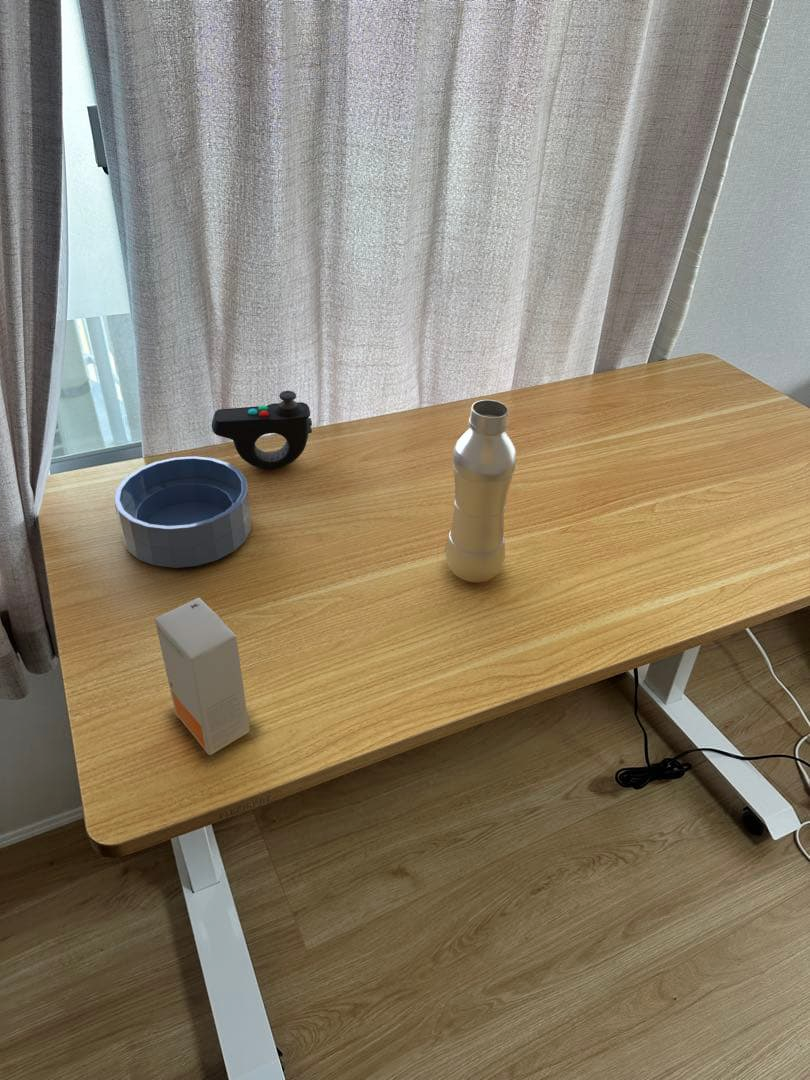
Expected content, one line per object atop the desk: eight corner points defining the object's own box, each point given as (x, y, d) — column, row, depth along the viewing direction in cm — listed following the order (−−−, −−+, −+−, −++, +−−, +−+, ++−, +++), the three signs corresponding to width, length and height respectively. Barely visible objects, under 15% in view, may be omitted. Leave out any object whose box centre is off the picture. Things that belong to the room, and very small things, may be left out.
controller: (315, 470, 104) (312, 400, 98) (217, 478, 102) (208, 408, 96) (311, 452, 107) (308, 384, 101) (216, 460, 105) (207, 391, 99)
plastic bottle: (459, 595, 85) (474, 431, 73) (434, 558, 90) (445, 397, 78) (513, 583, 87) (537, 420, 75) (486, 546, 92) (504, 388, 80)
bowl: (141, 587, 85) (131, 542, 81) (112, 516, 95) (102, 473, 91) (269, 551, 90) (265, 507, 87) (229, 487, 100) (223, 446, 97)
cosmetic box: (173, 715, 71) (152, 616, 64) (216, 692, 74) (199, 594, 66) (208, 759, 68) (190, 659, 61) (252, 733, 70) (239, 634, 63)
